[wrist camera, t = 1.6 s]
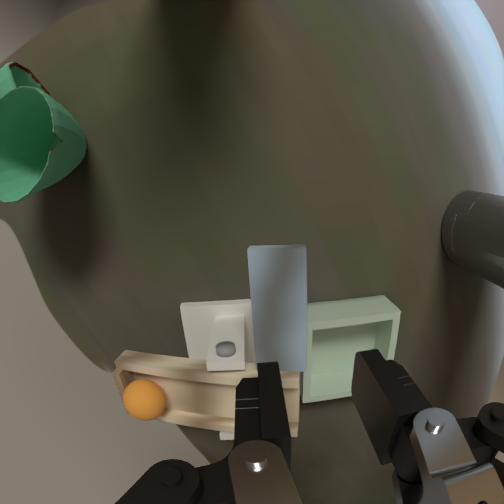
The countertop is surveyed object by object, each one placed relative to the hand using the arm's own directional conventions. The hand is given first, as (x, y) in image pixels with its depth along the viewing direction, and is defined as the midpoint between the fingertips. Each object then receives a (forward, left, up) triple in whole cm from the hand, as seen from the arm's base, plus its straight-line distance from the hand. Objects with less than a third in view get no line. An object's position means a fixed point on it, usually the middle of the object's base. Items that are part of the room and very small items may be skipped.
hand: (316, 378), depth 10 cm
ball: (+13, +11, -12) cm, 21 cm away
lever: (+6, +6, -14) cm, 17 cm away
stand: (+5, +11, -21) cm, 24 cm away
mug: (+22, -15, -21) cm, 34 cm away
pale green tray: (-7, +11, -21) cm, 25 cm away
